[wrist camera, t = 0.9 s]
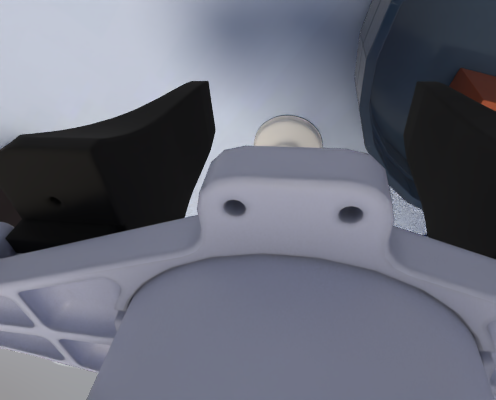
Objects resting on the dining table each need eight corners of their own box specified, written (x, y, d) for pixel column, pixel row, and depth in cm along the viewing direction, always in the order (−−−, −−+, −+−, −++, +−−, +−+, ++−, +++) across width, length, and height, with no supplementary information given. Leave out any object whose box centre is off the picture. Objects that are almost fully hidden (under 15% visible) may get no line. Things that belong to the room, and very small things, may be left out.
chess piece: (294, 101, 24) (280, 202, 16) (335, 151, 26) (341, 261, 18) (240, 139, 26) (208, 241, 19) (282, 182, 28) (268, 288, 21)
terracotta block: (527, 84, 20) (562, 119, 17) (483, 142, 23) (506, 181, 20) (460, 67, 20) (483, 99, 17) (423, 126, 23) (437, 163, 20)
